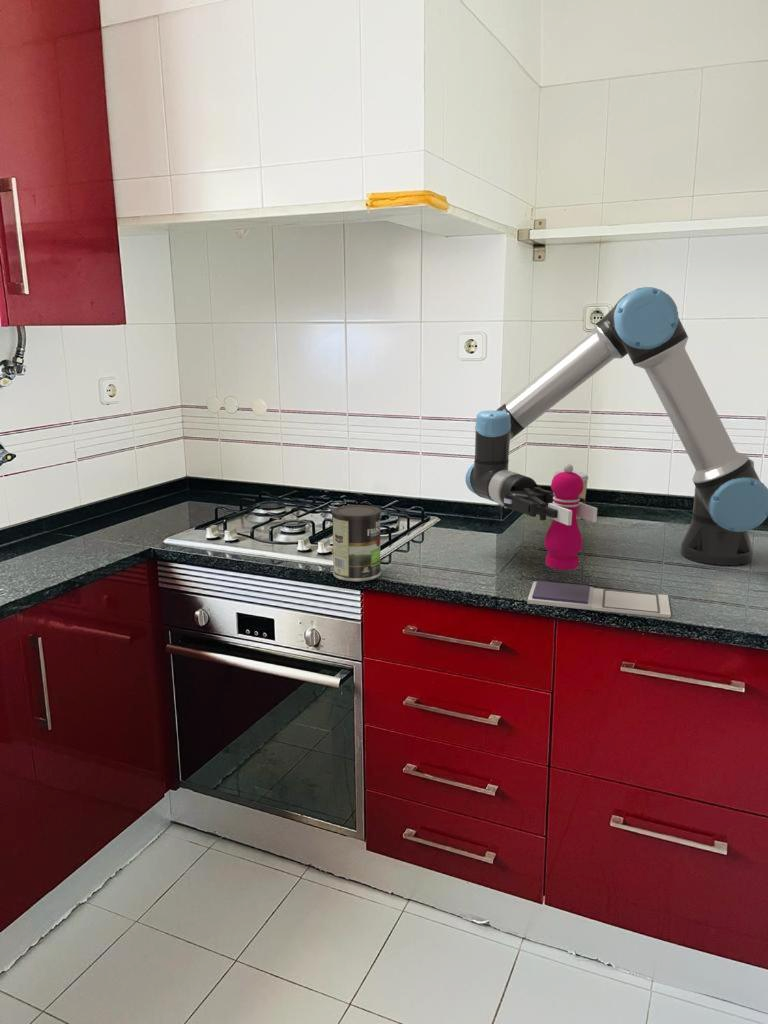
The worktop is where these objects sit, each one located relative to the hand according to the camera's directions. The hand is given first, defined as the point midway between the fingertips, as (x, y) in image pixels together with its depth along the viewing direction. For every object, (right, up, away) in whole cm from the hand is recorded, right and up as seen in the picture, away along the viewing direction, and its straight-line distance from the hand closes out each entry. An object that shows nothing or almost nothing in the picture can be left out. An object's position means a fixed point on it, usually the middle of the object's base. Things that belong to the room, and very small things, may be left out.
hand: (582, 516), depth 145 cm
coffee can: (-43, -13, +23) cm, 50 cm away
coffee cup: (+14, -1, +71) cm, 73 cm away
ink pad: (-2, -16, +9) cm, 18 cm away
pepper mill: (-2, -10, +7) cm, 12 cm away
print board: (+11, -17, +5) cm, 21 cm away
